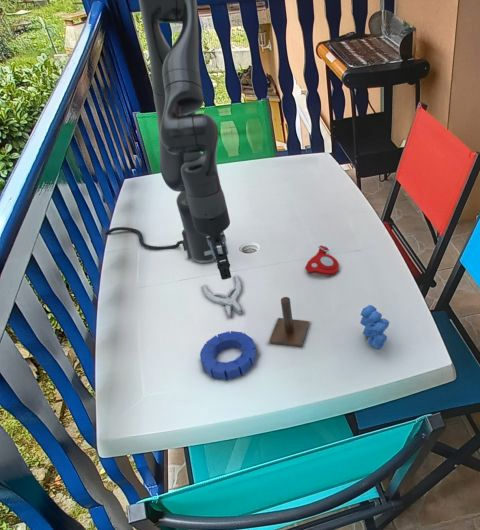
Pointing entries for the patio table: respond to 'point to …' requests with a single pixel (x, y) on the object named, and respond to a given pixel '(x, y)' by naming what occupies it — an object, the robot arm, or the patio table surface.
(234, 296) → the pliers
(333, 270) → the tracker holder
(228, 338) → the ring
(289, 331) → the post
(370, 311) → the grapes
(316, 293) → the patio table surface
